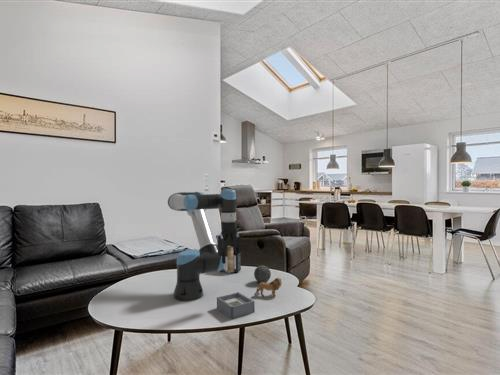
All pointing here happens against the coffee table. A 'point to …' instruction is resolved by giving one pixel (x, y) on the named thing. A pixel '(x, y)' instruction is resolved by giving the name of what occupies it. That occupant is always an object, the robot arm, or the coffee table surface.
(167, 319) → the coffee table surface
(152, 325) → the coffee table surface
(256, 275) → the decorative ball
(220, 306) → the box
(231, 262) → the peg
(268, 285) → the lion figurine
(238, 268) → the small box
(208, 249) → the robot arm
